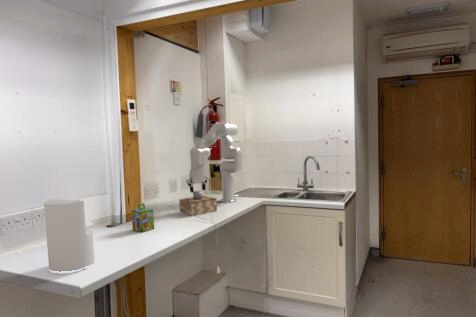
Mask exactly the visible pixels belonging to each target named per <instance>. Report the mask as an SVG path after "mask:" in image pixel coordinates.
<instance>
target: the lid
mask: <svg viewBox="0 0 476 317" xmlns="http://www.w3.org/2000/svg"><path fill="white" fill-rule="evenodd" d="M211 200H216V201H217V197H213V196H209V195H204V194H202V199H198V200H195V199H193V196H190V197H184V198H179V199H178V201H182V202H186V203H190V204H195V203H200V202H206V201H211Z"/></svg>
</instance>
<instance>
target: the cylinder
mask: <svg viewBox="0 0 476 317" xmlns="http://www.w3.org/2000/svg"><path fill="white" fill-rule="evenodd" d="M43 206H44V207H43V210H44V218H45V219H44V220H45V222H44V223H45V231H46V235H45V236H46V246H47V257H48V258H47V260H48V270H49V269H50V270H52V271H59V272H61V271H72V270H78V269H81V268H84V267H86V266H89V265H91V264H92V263H93V262H94V260H96V259H95V246H94V233H93V232H94V231H93V229H91V228H87V227H86V216H85V212H86V211H85V200H76V199H75V200H74V199H73V200H70V199H47V200H45V201H44V202H43Z"/></svg>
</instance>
